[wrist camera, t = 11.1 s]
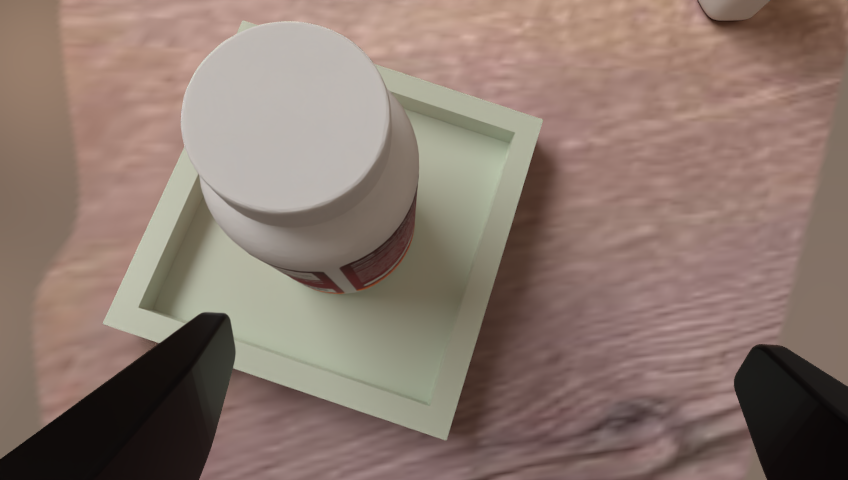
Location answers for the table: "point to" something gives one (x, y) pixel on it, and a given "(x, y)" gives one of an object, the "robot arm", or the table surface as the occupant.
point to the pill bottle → (304, 155)
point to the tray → (365, 310)
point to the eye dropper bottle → (731, 8)
